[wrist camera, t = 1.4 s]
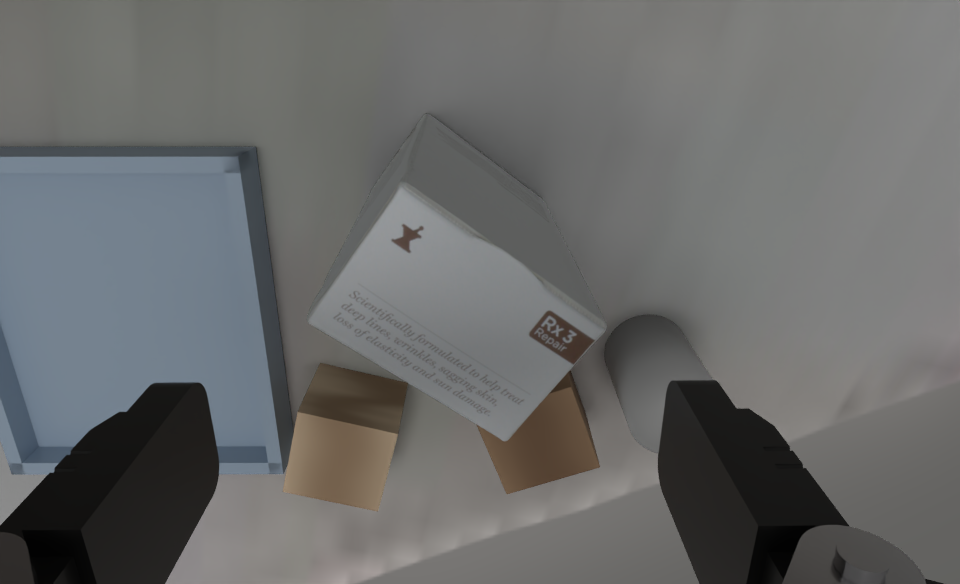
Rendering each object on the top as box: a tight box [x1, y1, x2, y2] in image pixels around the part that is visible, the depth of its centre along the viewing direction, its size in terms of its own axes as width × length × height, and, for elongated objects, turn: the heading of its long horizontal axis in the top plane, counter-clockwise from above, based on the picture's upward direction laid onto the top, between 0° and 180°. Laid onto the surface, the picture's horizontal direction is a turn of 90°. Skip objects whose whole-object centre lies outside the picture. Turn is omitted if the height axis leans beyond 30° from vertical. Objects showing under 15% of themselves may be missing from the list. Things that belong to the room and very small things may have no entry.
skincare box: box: [307, 114, 607, 441], centre depth 20 cm, size 6×4×12 cm
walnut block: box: [476, 371, 600, 494], centre depth 28 cm, size 4×4×4 cm
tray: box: [0, 147, 293, 474], centre depth 27 cm, size 12×14×2 cm
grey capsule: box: [604, 315, 713, 453], centre depth 26 cm, size 4×4×5 cm
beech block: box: [283, 363, 408, 511], centre depth 28 cm, size 4×4×4 cm
